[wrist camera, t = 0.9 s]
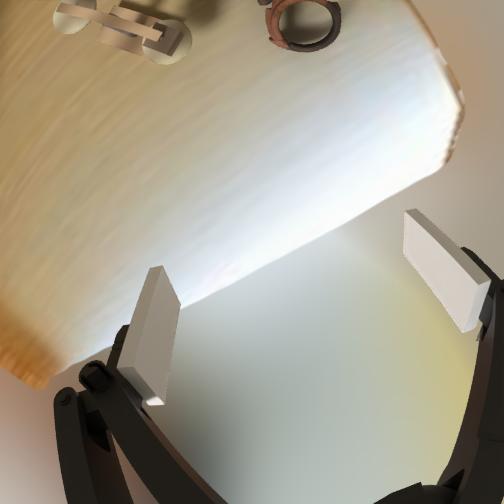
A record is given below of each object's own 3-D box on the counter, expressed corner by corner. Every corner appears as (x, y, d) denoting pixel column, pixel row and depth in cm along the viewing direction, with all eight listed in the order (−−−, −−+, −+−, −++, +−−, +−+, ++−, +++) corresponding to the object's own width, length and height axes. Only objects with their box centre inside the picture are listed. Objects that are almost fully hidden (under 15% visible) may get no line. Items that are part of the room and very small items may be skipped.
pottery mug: (340, -3, 26) (366, 15, 22) (300, 46, 33) (316, 73, 29) (254, -49, 20) (264, -45, 16) (216, 10, 27) (217, 30, 23)
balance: (78, 35, 25) (28, 26, 15) (96, 2, 23) (52, -19, 13) (184, 73, 30) (164, 68, 20) (205, 38, 28) (194, 18, 18)
